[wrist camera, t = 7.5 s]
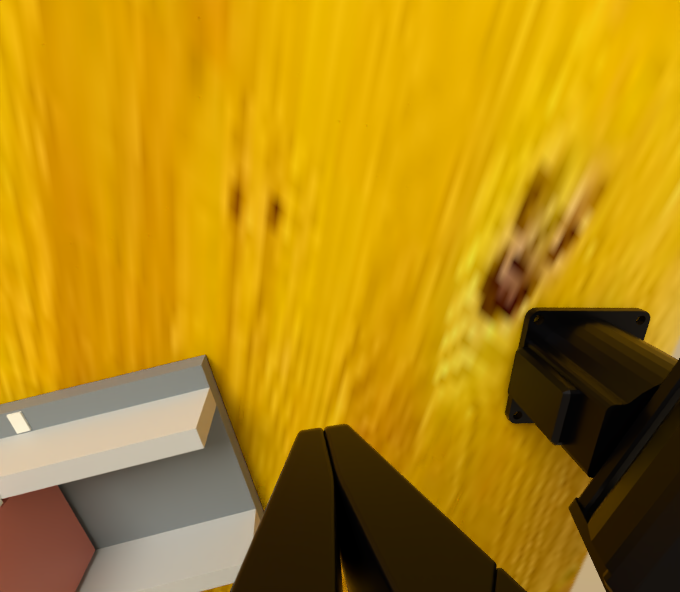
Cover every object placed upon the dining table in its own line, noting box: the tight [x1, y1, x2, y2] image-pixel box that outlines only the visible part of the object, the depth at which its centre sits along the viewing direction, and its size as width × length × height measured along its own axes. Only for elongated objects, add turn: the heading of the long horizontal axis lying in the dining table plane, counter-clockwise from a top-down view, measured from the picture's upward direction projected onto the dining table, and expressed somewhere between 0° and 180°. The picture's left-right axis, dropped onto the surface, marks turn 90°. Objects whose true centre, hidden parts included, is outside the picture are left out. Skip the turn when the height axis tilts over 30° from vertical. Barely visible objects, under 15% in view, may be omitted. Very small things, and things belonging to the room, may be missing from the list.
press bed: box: [0, 355, 264, 592], centre depth 20 cm, size 16×11×4 cm
